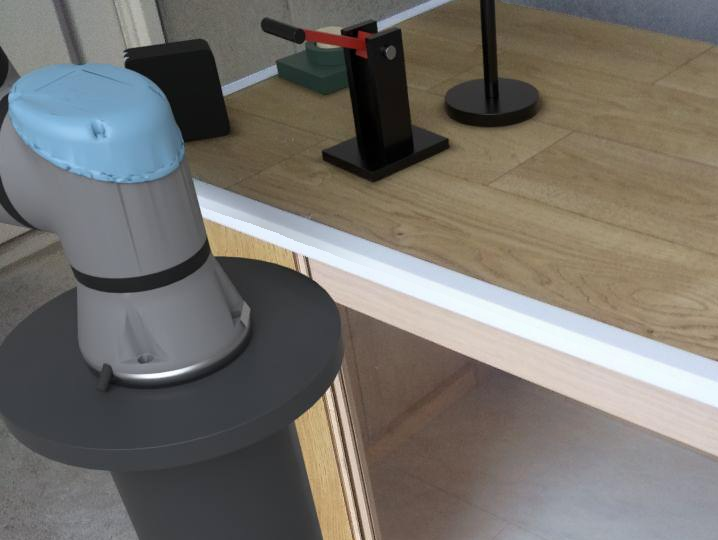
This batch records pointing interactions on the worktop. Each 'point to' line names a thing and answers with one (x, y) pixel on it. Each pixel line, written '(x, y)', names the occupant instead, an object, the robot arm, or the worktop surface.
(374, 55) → the stand
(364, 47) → the switch lever
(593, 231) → the worktop surface
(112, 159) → the robot arm
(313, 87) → the timer box
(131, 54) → the electronic device
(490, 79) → the desk lamp
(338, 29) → the timer button
